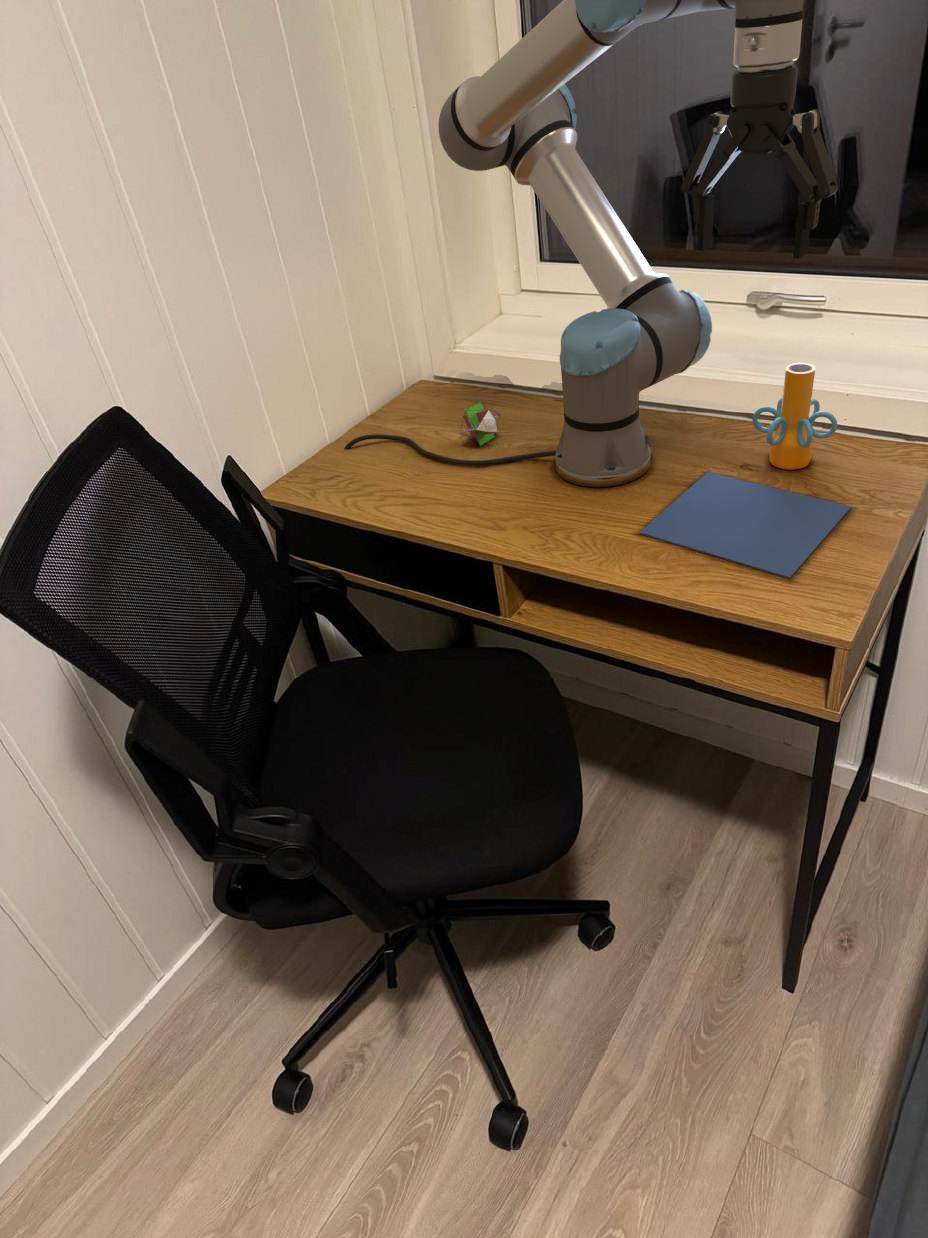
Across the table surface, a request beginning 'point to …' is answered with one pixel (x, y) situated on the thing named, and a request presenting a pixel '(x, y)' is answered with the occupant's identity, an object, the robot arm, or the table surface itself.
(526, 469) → the table surface
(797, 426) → the cylinder
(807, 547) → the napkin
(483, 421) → the geometric puzzle
